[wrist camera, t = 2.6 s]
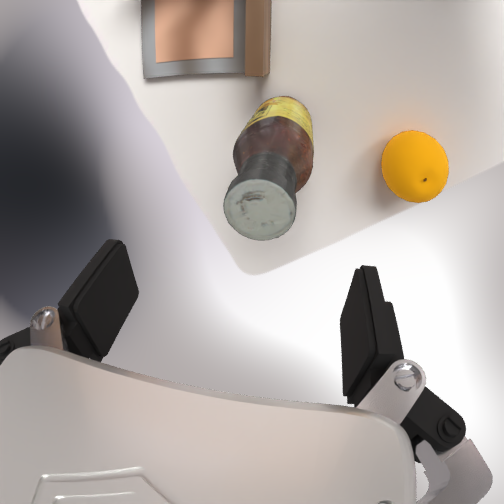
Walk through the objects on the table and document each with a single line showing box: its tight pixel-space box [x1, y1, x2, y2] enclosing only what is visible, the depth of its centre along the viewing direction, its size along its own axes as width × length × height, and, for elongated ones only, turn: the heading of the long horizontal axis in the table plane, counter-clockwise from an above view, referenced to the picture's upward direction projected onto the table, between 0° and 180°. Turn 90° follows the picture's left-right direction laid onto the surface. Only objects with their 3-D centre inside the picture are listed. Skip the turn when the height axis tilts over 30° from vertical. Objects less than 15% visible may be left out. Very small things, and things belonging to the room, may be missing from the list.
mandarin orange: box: [381, 130, 449, 203], centre depth 28 cm, size 8×8×8 cm
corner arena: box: [141, 0, 271, 79], centre depth 22 cm, size 15×15×6 cm
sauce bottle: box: [223, 96, 314, 240], centre depth 24 cm, size 6×6×20 cm
